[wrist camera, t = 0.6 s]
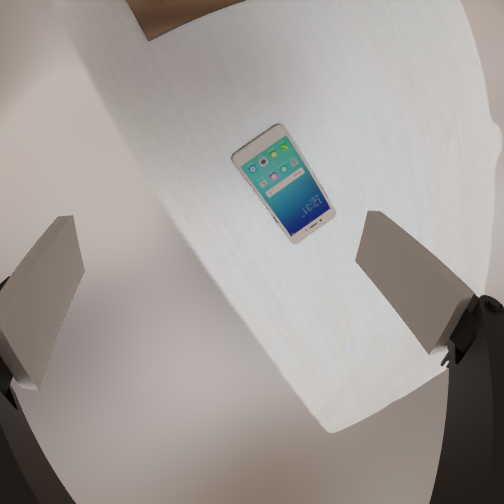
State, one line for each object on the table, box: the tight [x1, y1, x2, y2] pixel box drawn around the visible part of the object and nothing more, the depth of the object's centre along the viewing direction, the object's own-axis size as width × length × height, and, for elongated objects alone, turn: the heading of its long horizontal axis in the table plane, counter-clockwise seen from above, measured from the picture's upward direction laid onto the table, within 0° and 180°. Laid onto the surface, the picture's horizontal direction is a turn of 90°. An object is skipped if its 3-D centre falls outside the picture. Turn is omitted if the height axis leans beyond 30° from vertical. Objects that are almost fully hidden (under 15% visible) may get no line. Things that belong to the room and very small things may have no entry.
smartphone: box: [232, 124, 336, 244], centre depth 37 cm, size 8×1×15 cm
